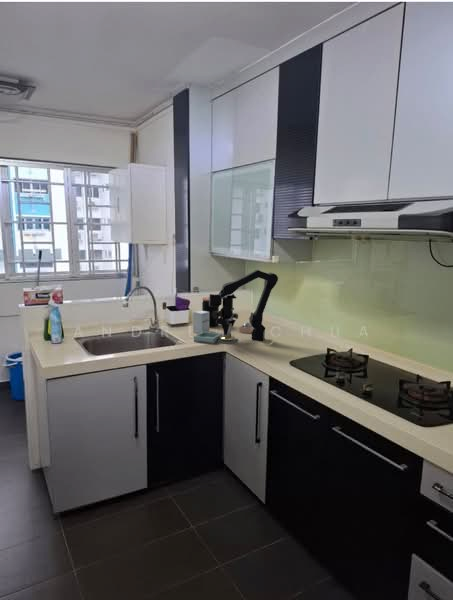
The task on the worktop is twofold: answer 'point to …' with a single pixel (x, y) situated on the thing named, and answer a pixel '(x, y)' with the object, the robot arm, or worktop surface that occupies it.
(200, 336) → the teal shallow square tray
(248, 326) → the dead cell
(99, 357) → the worktop surface
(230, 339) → the brass disc
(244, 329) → the pink open-ended box
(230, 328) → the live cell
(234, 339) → the checker cradle
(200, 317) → the supplement box
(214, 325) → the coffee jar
